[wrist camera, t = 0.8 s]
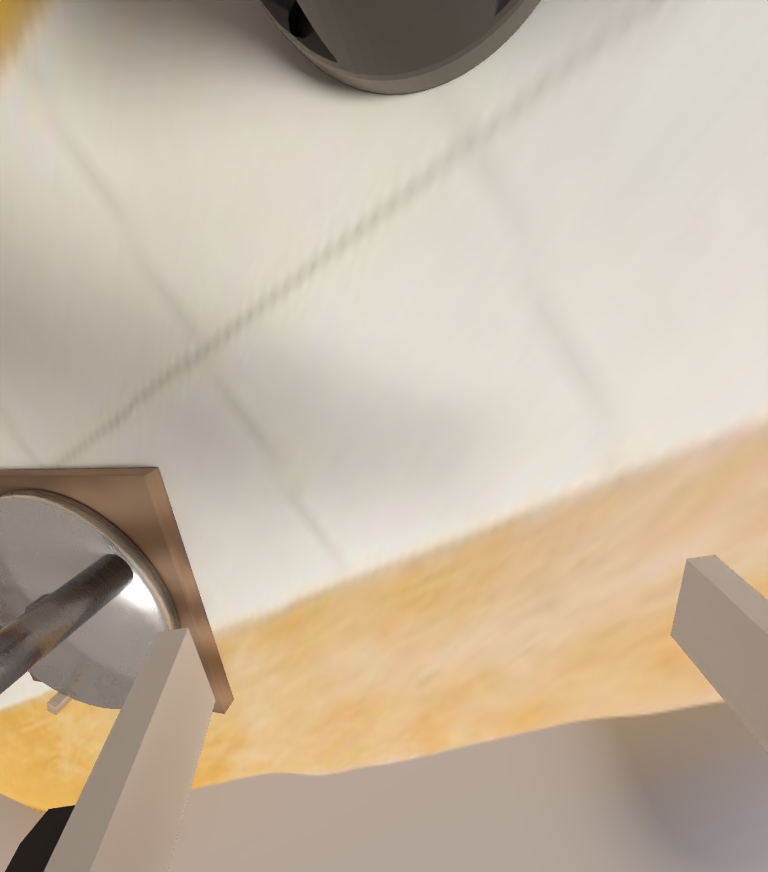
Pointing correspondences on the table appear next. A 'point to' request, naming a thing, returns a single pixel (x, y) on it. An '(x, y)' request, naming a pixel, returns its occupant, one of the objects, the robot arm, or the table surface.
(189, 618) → the walnut stand board
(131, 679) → the dial
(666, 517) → the table surface
